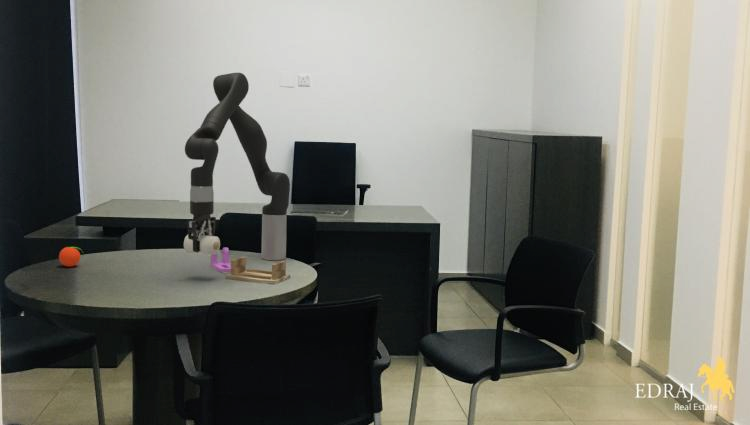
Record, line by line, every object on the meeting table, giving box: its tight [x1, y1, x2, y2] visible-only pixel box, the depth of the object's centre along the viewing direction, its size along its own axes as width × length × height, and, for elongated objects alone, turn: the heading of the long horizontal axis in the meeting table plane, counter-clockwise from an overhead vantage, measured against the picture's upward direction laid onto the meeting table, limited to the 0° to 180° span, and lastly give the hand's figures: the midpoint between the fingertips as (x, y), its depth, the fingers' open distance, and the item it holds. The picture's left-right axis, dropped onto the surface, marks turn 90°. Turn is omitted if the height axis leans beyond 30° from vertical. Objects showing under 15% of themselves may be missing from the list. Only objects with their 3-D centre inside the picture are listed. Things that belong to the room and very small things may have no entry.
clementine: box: [58, 246, 85, 268], centre depth 264 cm, size 8×7×7 cm
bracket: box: [210, 247, 231, 273], centre depth 269 cm, size 13×6×7 cm, turn 27°
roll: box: [183, 233, 221, 255], centre depth 251 cm, size 11×6×6 cm, turn 71°
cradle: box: [225, 256, 291, 285], centre depth 256 cm, size 12×18×6 cm, turn 71°
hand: (201, 250), depth 251 cm, fingers closed on roll, 6 cm apart
